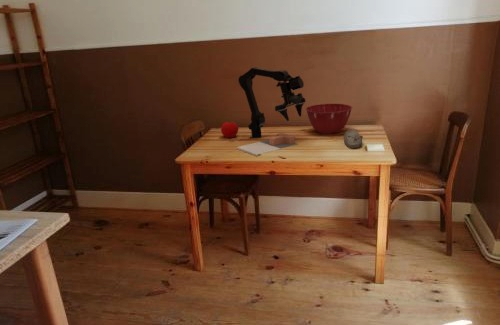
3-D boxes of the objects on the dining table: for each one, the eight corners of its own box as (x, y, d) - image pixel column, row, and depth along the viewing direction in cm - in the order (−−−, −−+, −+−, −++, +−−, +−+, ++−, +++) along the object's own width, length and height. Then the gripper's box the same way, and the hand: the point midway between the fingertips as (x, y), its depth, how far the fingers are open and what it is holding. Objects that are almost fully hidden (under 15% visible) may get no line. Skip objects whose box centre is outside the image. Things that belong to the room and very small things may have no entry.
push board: (236, 148, 219) (236, 147, 219) (277, 139, 234) (277, 137, 234) (256, 156, 203) (256, 154, 203) (298, 145, 218) (298, 144, 218)
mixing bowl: (339, 139, 227) (340, 113, 222) (297, 134, 244) (297, 110, 239) (358, 128, 248) (359, 104, 243) (318, 125, 265) (318, 102, 260)
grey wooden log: (358, 135, 238) (342, 136, 240) (358, 127, 237) (341, 128, 238) (364, 148, 205) (345, 149, 207) (364, 138, 203) (345, 140, 205)
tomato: (218, 139, 243) (217, 123, 240) (225, 134, 255) (224, 119, 252) (235, 139, 240) (234, 123, 237) (241, 134, 251) (240, 119, 248)
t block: (265, 143, 224) (265, 136, 222) (281, 139, 230) (281, 132, 229) (278, 147, 214) (278, 140, 213) (294, 143, 220) (294, 136, 219)
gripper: (282, 93, 209) (290, 121, 211) (308, 85, 217) (315, 112, 220) (271, 97, 218) (278, 123, 221) (296, 89, 227) (303, 115, 229)
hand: (294, 118), depth 222 cm, fingers open, 9 cm apart
